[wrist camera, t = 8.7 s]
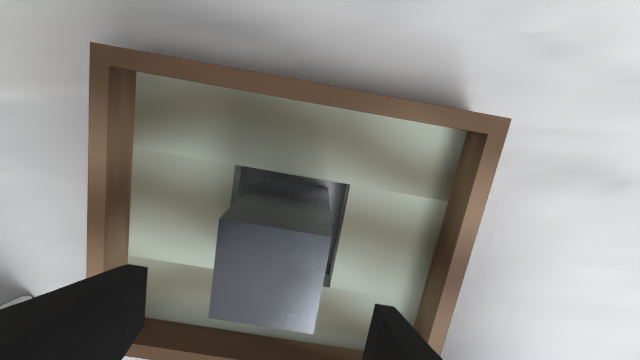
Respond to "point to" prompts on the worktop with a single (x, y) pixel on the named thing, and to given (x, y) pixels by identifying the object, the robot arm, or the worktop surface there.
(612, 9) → the worktop surface
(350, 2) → the worktop surface
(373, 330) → the robot arm
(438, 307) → the walnut box
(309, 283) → the charcoal peg
